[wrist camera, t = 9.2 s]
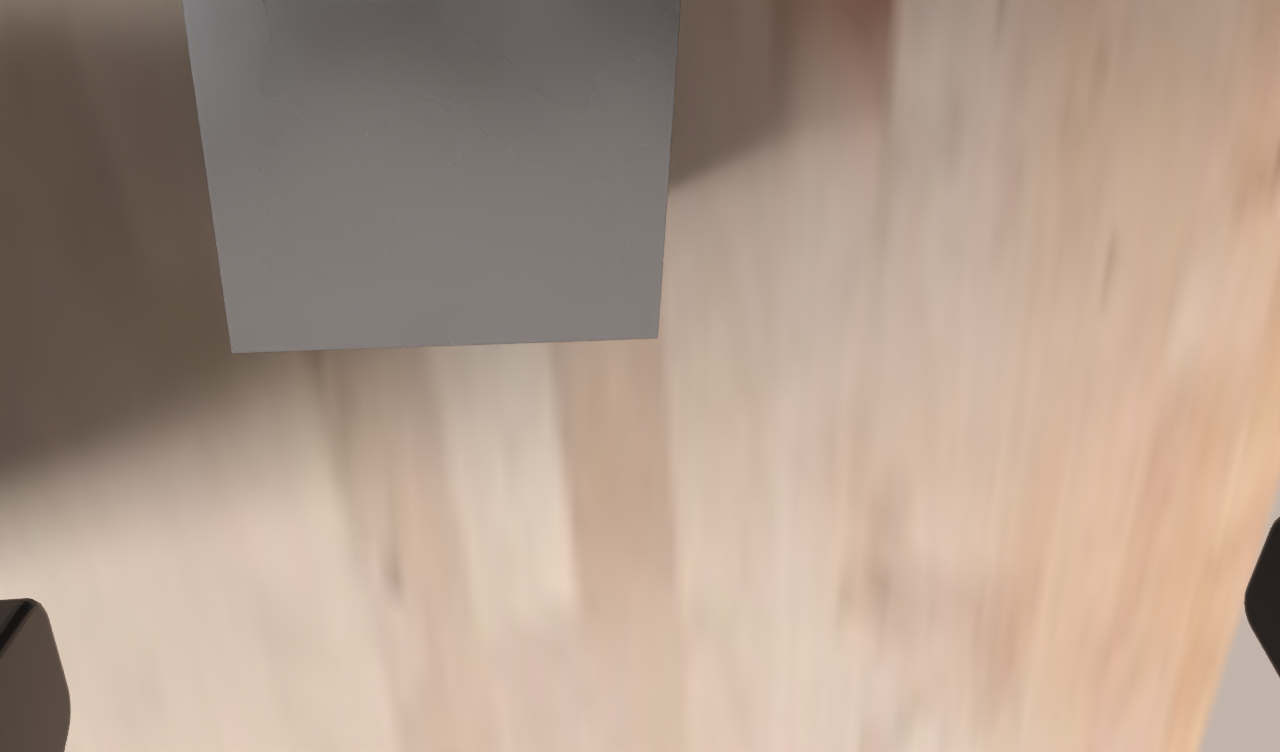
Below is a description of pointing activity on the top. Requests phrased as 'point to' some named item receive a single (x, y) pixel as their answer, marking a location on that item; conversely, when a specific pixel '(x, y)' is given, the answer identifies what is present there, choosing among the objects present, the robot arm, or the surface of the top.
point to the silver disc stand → (435, 168)
